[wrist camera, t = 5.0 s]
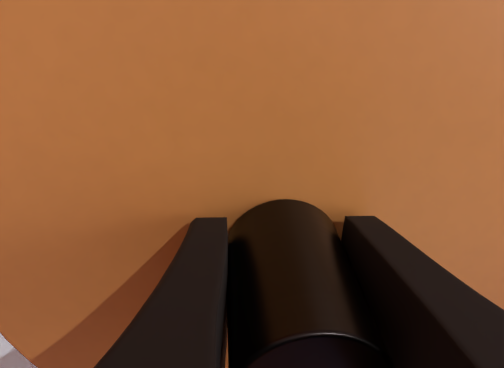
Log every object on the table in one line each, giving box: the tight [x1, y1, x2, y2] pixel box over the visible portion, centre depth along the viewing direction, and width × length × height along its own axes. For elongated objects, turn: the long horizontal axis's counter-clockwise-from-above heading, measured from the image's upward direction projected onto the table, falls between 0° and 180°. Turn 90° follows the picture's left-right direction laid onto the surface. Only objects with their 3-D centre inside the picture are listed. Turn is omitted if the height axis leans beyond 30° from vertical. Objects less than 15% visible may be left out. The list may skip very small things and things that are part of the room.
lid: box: [0, 0, 504, 368], centre depth 8 cm, size 14×14×5 cm
